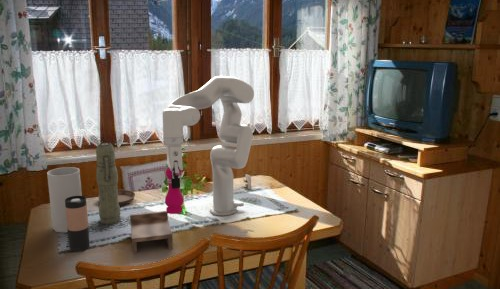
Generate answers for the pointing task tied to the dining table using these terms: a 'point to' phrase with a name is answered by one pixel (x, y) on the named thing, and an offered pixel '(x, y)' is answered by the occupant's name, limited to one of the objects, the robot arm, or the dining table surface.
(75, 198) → the travel mug
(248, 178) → the architectural model
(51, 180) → the cylinder vase
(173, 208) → the pepper mill
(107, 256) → the dining table surface
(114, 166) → the stone totem statue
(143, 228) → the walnut shelf
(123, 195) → the plant saucer
